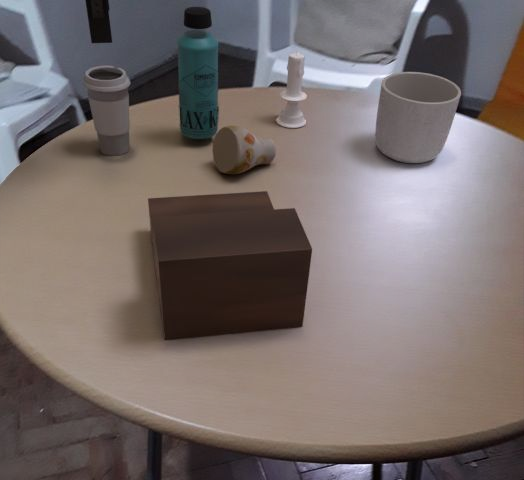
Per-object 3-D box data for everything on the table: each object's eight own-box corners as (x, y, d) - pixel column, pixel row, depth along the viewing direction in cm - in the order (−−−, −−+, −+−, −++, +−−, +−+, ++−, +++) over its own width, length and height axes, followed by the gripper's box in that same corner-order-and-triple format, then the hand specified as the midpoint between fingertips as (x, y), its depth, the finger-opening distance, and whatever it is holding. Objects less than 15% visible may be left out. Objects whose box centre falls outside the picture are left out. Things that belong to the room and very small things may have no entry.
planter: (395, 175, 100) (410, 108, 92) (356, 141, 108) (367, 76, 100) (458, 163, 104) (477, 97, 96) (416, 130, 112) (431, 67, 104)
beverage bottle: (171, 137, 105) (164, 6, 91) (203, 126, 109) (200, -1, 95) (195, 152, 102) (192, 19, 88) (227, 140, 106) (228, 11, 92)
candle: (279, 113, 114) (284, 44, 106) (308, 117, 113) (315, 48, 105) (273, 126, 110) (278, 55, 102) (303, 130, 110) (310, 59, 101)
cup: (145, 145, 103) (138, 70, 94) (121, 162, 98) (112, 86, 90) (109, 135, 105) (99, 61, 96) (84, 151, 100) (71, 75, 92)
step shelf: (150, 230, 86) (143, 155, 78) (265, 222, 89) (269, 149, 81) (164, 340, 71) (158, 261, 63) (302, 326, 73) (312, 249, 66)
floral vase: (288, 168, 100) (274, 128, 91) (236, 201, 100) (217, 164, 91) (266, 138, 103) (250, 96, 94) (216, 170, 103) (195, 131, 94)
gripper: (111, -155, 66) (132, 56, 81) (105, -180, 83) (124, -3, 98) (36, -156, 64) (72, 58, 79) (46, -182, 82) (74, -2, 97)
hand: (101, 25), depth 89 cm, fingers open, 13 cm apart
